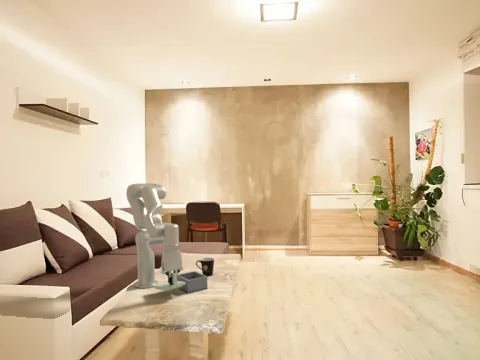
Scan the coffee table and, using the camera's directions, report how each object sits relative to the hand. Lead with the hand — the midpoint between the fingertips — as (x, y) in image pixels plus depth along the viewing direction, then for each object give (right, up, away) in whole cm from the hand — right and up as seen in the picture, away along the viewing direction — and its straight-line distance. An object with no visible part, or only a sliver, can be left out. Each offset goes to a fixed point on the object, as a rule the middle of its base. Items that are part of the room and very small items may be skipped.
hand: (172, 283), depth 170 cm
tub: (+8, -7, +15) cm, 18 cm away
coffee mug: (+13, -7, +41) cm, 44 cm away
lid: (-2, -3, +3) cm, 5 cm away
